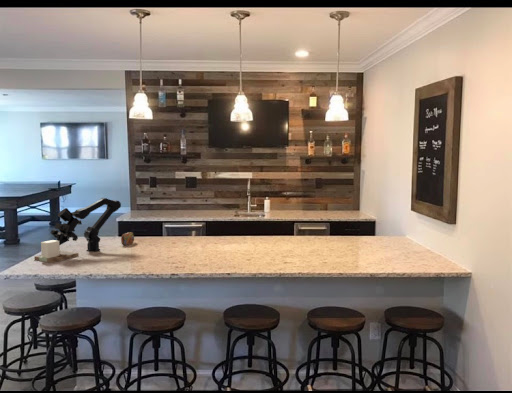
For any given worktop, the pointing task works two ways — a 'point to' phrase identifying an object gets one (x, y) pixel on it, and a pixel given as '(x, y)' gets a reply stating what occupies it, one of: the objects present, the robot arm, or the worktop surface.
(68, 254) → the trap board
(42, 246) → the cream block
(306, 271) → the worktop surface
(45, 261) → the pad
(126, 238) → the tin
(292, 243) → the worktop surface
